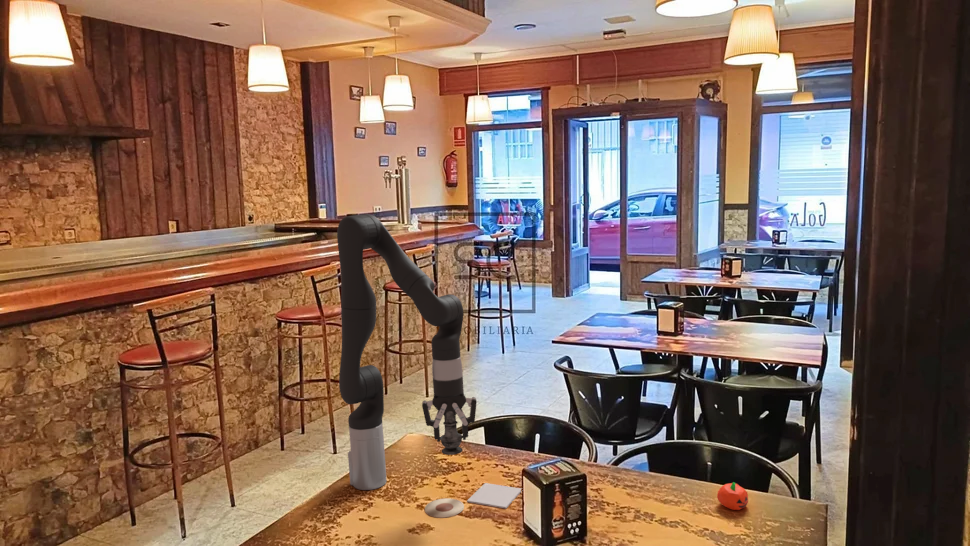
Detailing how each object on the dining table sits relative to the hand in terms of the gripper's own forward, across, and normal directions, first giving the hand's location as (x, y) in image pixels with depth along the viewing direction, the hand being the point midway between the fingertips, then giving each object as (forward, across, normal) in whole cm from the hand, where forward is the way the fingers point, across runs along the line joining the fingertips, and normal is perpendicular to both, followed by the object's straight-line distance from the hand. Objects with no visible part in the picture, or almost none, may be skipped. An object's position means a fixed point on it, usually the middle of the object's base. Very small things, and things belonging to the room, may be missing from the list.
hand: (451, 439), depth 170 cm
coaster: (+18, -3, 0) cm, 18 cm away
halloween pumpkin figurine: (+18, +68, -11) cm, 71 cm away
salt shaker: (+3, 0, 0) cm, 3 cm away
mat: (+18, +10, +4) cm, 21 cm away
